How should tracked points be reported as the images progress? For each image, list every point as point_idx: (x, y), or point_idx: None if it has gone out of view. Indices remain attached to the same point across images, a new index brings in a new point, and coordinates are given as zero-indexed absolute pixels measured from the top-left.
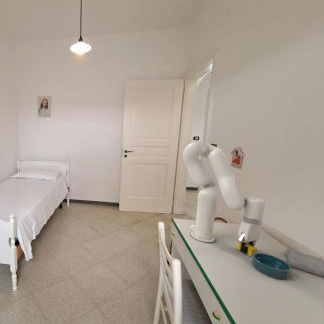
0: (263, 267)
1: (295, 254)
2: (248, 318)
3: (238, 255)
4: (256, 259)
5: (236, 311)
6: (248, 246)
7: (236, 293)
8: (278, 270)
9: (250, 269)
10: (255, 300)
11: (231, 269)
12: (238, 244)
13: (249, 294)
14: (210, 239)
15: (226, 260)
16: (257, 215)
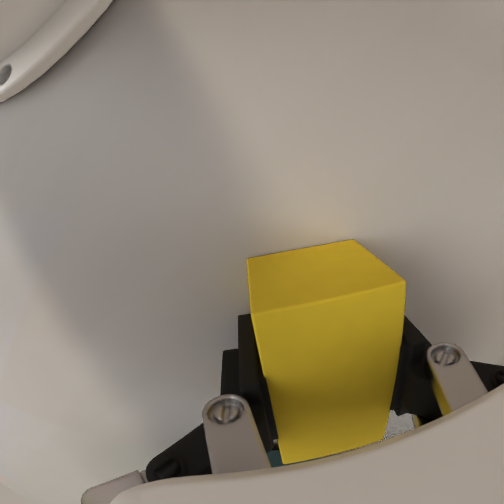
0: None
1: None
2: (22, 496)
3: (142, 373)
4: None
5: (6, 483)
6: (311, 423)
7: (13, 475)
8: None
9: (120, 470)
10: (52, 500)
11: (21, 435)
12: (252, 302)
13: (45, 492)
14: (9, 59)
15: (14, 388)
16: None
